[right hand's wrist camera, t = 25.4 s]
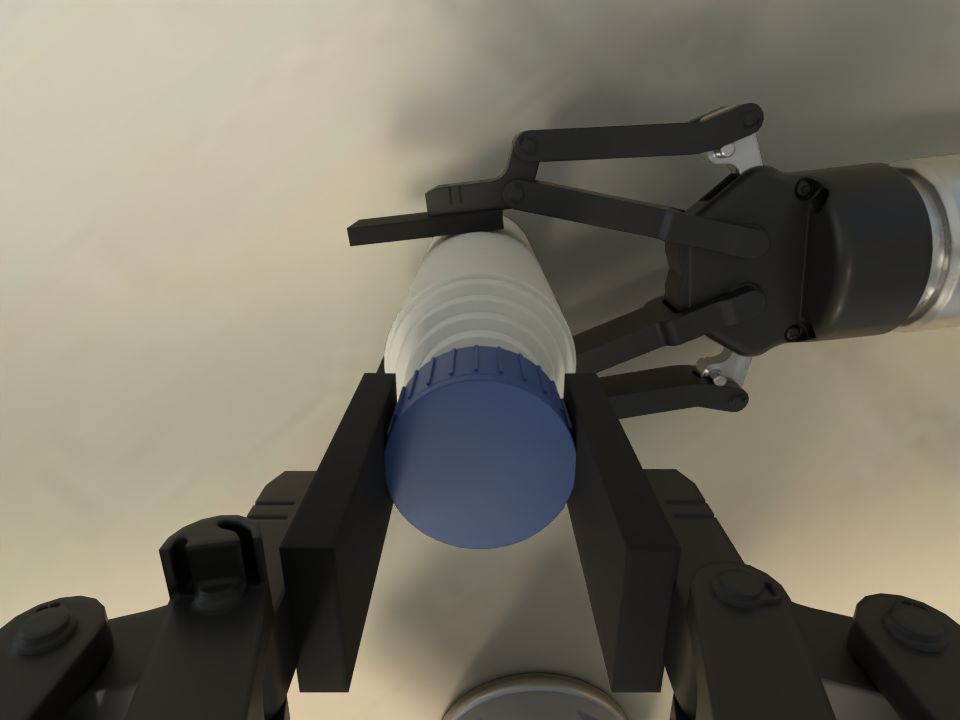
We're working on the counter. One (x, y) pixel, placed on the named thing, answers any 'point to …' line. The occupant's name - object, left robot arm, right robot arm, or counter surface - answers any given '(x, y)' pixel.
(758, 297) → the left robot arm
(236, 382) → the counter surface
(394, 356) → the bottle
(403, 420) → the cap
